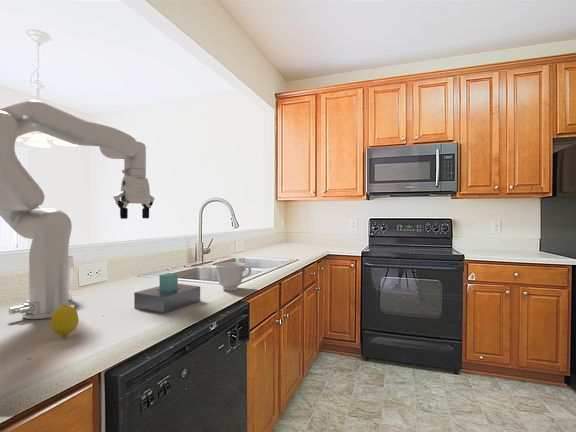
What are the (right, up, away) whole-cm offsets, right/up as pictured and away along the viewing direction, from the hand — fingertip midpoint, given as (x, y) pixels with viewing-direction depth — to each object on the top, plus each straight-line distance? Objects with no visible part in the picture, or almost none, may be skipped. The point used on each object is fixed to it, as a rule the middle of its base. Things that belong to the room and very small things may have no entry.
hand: (135, 218), depth 124 cm
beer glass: (-20, -29, -12) cm, 37 cm away
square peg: (+19, -29, -17) cm, 38 cm away
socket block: (+19, -29, -17) cm, 38 cm away
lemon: (+4, -29, -45) cm, 54 cm away
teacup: (+37, -29, +4) cm, 47 cm away
